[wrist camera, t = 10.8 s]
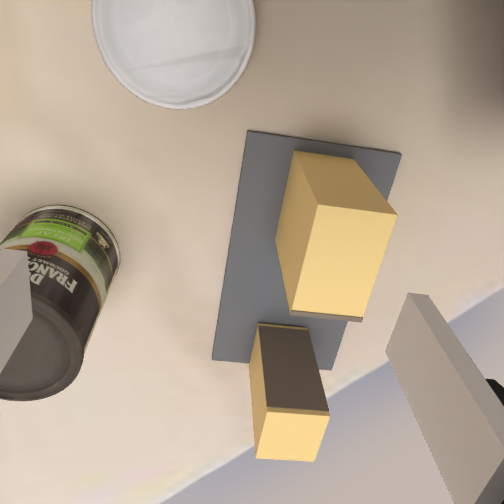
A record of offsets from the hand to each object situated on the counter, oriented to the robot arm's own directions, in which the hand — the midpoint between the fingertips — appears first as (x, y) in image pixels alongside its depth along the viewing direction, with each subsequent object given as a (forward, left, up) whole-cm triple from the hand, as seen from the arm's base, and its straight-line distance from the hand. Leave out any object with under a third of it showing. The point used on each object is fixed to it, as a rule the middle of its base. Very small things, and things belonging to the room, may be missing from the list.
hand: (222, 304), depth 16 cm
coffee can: (+20, +1, -27) cm, 33 cm away
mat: (+3, +16, -27) cm, 31 cm away
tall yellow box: (-2, +11, -27) cm, 29 cm away
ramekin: (-2, -8, -27) cm, 28 cm away
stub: (+10, +23, -26) cm, 36 cm away
